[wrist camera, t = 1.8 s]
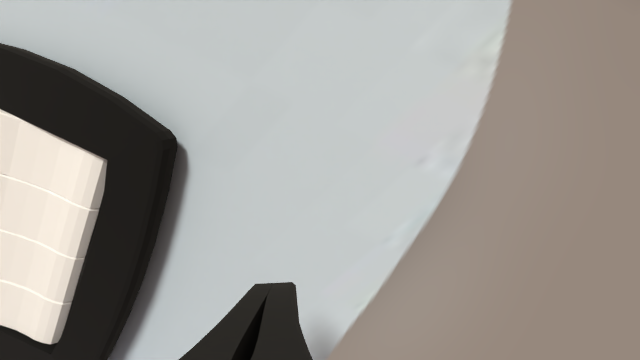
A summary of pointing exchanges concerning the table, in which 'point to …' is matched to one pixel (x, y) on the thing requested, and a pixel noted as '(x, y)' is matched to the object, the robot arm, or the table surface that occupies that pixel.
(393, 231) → the table surface
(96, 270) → the light switch
